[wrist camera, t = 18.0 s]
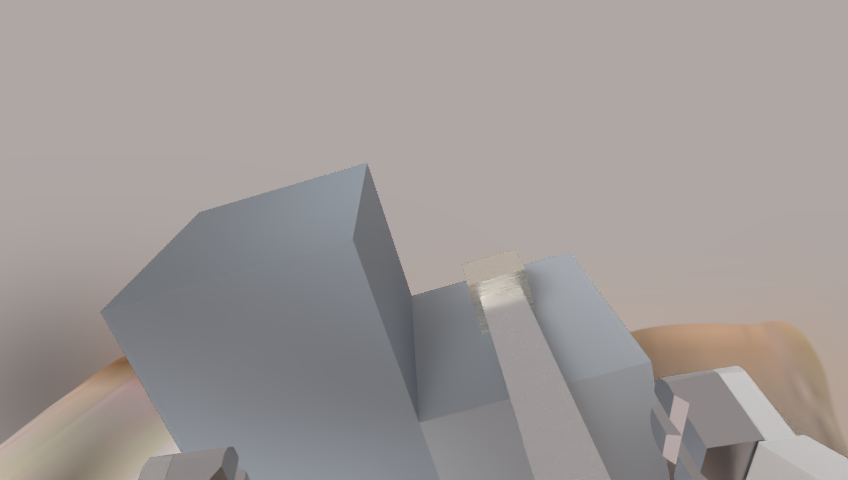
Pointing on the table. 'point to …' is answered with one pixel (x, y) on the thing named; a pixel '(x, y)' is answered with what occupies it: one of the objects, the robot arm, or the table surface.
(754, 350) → the table surface
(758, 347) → the table surface
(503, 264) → the long bar
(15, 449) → the table surface
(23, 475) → the table surface
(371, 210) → the stepped stand
